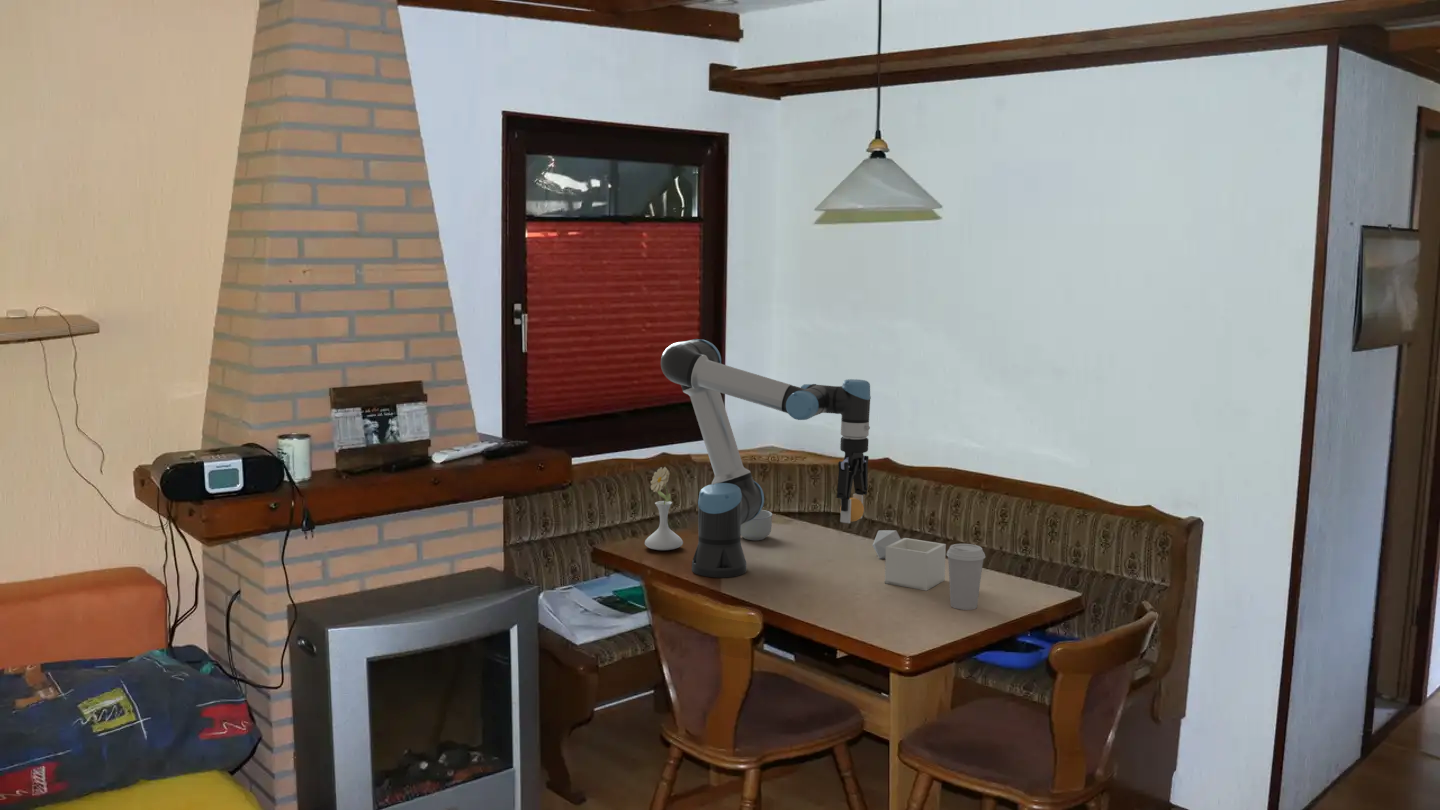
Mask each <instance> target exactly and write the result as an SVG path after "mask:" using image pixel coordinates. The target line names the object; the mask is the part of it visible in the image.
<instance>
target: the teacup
mask: <svg viewBox="0 0 1440 810" xmlns="http://www.w3.org/2000/svg"><path fill="white" fill-rule="evenodd" d="M772 520H773V513H772V512H771V511H769V510H765V509H761V511H760V513H759V514H758V515H757V516H756V517H755V518H753V519H752V520H751V521H748V522H745V523H743V524H742V525H741V536H742V538H743V539H745V540H748V541H762V540H764V539H766V538H767V537H768V536H770V534H771V531H772V528H773V527H772V525H773V524H772V522H773V521H772Z"/></svg>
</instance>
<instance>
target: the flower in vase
mask: <svg viewBox="0 0 1440 810" xmlns="http://www.w3.org/2000/svg"><path fill="white" fill-rule="evenodd" d="M669 478H670V470H669V469H668V468H667V467H666V466H664V467H659V468H658V469H657V470H656V471H654V473H653V476H652V477H651V479H652V480H650V489H651V491H653V493H657V495H658V496H660V497H661V498H662V499H664V500H659V501H656V502H654V504H655V506H656V507H657V509H658V515H659V526H658V528H657V529H656V530H655V531H654V532H652V534H650V535H649V536H648V537H647V538H646V539H645V540H644V545H645V546H646V547H647V548H649V549H651V550H656V551H670V550H675V549H678V548H680V547H682V546H683V544H684V540H683V539H682V538H681V536H679V535H678V534H677V533H675V532H674V531H673V530H671V528H670V527H669V523H668V514H669V510H670V507H671V505H672V504H673V502H672V500H671V499H672V498H671V493H668V488H667V483H668V482H669ZM663 489H665V492H666V494H664V492H662V491H661V490H663Z"/></svg>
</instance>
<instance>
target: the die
mask: <svg viewBox="0 0 1440 810" xmlns="http://www.w3.org/2000/svg"><path fill="white" fill-rule="evenodd" d="M875 535H876V536H875V538H874V540H873V543H872V547H873V549H874V551H875V553H876V554H877V556H878V558H879V560H880V559H883V560H885V558H886V546H888V545H891V544H893V543H895V542H897V541H899V540H901V539H902V538H901V537H900V535H899V533H898V531H897V530H893V529H892V530H891V529H888V530H886V529H885V530H884V529H883V530H882V529H881V530H879V529H878V531H877V533H876V534H875Z"/></svg>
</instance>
